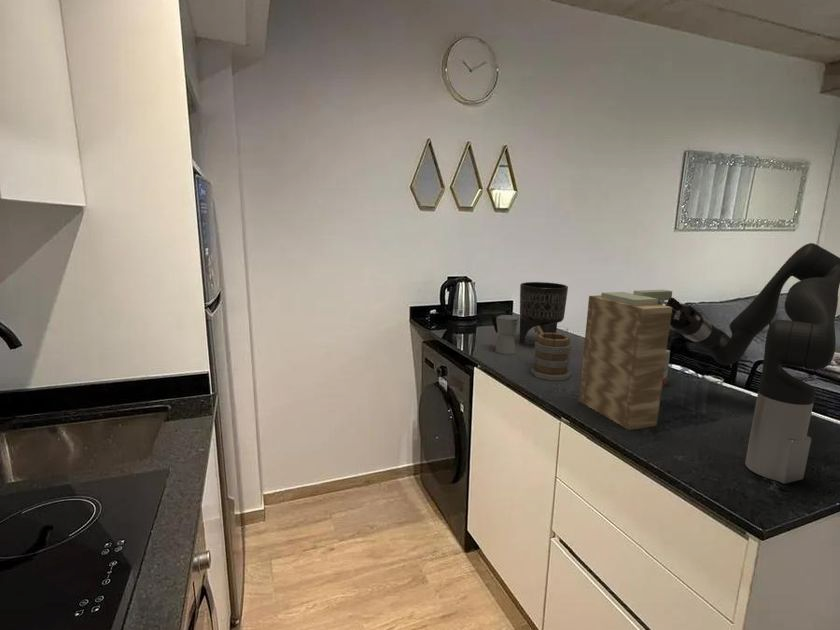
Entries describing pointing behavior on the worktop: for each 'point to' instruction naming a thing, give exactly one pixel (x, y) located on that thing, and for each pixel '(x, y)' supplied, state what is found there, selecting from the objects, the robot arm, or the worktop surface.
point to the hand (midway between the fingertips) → (656, 297)
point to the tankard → (551, 356)
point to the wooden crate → (624, 361)
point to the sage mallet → (638, 297)
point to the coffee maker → (505, 332)
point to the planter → (541, 306)
